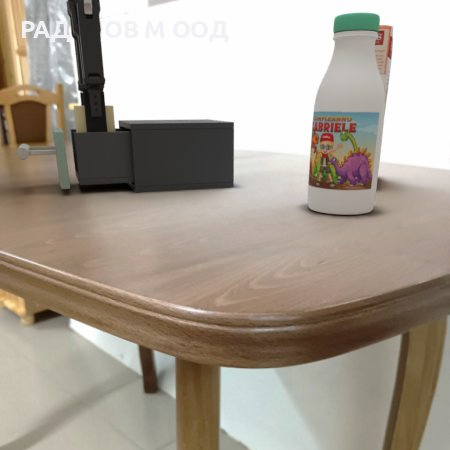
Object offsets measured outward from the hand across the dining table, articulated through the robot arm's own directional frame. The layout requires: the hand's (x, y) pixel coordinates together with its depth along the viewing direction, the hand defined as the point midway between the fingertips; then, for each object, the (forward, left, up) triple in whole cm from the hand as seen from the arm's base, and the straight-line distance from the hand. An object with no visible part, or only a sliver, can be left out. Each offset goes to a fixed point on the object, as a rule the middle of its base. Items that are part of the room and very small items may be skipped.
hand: (96, 140), depth 70 cm
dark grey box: (+6, +10, -7) cm, 13 cm away
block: (0, 0, 0) cm, 0 cm away
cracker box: (+27, +29, -7) cm, 40 cm away
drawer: (-1, -1, -6) cm, 6 cm away
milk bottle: (+35, +9, -7) cm, 36 cm away
